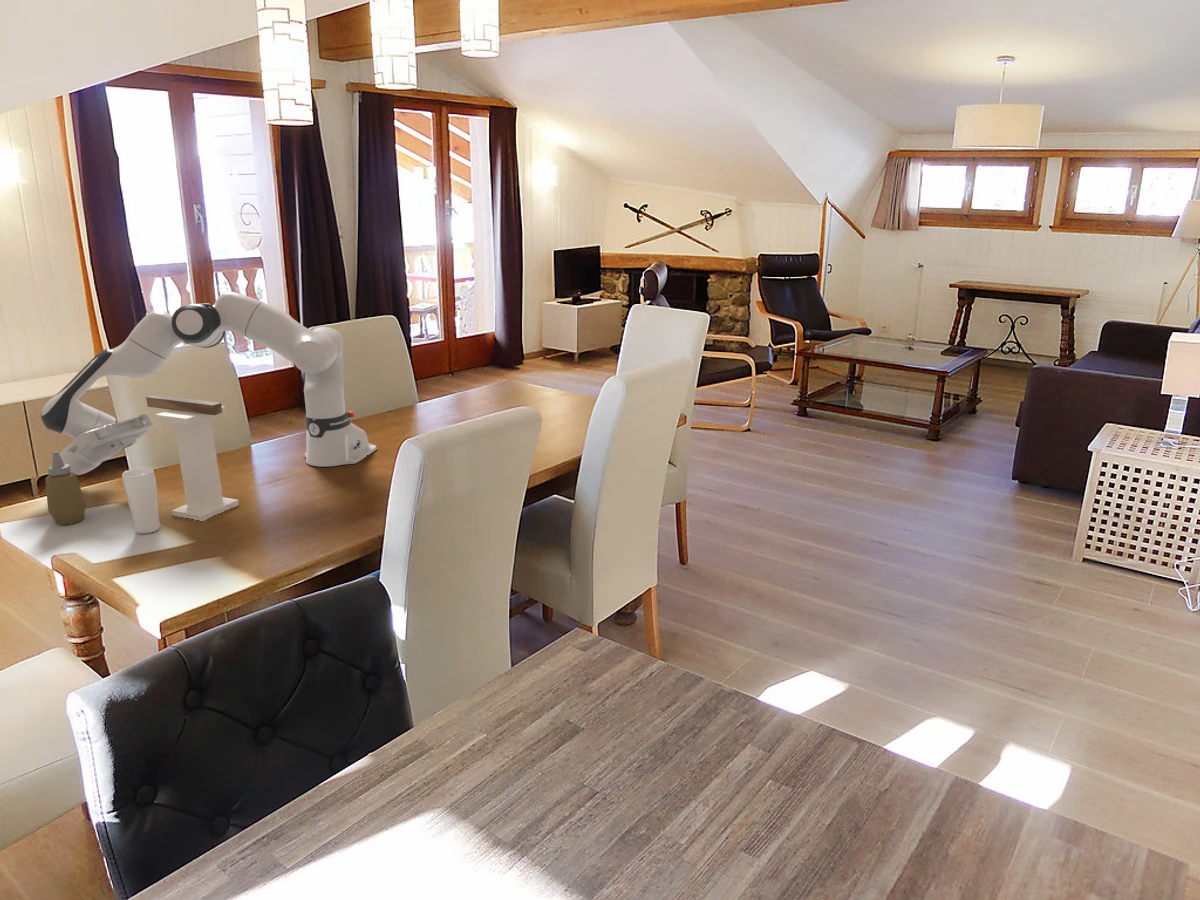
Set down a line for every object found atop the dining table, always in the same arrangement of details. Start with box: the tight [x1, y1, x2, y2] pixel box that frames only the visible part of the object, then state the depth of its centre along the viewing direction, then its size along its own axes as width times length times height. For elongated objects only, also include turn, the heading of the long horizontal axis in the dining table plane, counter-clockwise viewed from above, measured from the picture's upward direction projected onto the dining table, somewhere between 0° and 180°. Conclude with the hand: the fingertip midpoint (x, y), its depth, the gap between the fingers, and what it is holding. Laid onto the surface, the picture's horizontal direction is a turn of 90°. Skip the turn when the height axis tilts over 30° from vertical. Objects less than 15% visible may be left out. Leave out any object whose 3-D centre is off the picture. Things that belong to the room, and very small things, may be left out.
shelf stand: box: [155, 405, 240, 522], centre depth 216 cm, size 12×10×26 cm
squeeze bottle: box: [44, 451, 87, 526], centre depth 211 cm, size 8×8×18 cm
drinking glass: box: [121, 467, 161, 535], centre depth 205 cm, size 7×7×15 cm
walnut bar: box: [145, 394, 224, 416], centre depth 212 cm, size 2×22×2 cm, turn 68°
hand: (129, 421), depth 221 cm, fingers open, 8 cm apart
